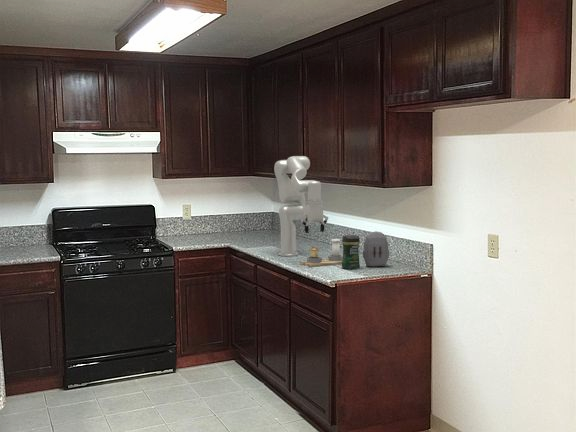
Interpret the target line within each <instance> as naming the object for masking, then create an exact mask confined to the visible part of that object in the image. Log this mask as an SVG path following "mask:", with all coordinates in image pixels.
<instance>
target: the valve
mask: <svg viewBox="0 0 576 432" xmlns="http://www.w3.org/2000/svg"><path fill="white" fill-rule="evenodd" d="M309 253H310V254H309V257H310V258H312V259H316V258H318V257H319V248H318V247H315V246H311V247H309Z"/></svg>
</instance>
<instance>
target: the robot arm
mask: <svg viewBox="0 0 576 432" xmlns="http://www.w3.org/2000/svg"><path fill="white" fill-rule="evenodd" d="M310 166H311V161H310V159H309V157H307V156H305V155H293V156H289V157H288V158H287V159H280V160H277V161H276V162H275V163H274V166H273V167H274V169H273V170H274V175H275V178H276V180H277V186H278V194H279V195H278V196H279V200H280V203H282V204H286V205H281V207H279V210H278V216H279V223H280V252H278V256H281V257H295V256H298V255H299V252H298V251H297V240H296V239H297V234H296V233H297V227H296V224H295V223H294V222H293V221H298V220H300V222H301V223H302V225H303V226H304V232H305V233H306V234H309V231H310V230H309V224H312V223H313V224H314V223H320V225H319V226H320V227H319V230H320V232H321V233H324V232H325V225H326V223H328V221H329V216H326V215H324V210H323V205H322V203H324V201H323V200H322V183H321V181H319V180H318V181H317V180H313V179H312V180H311V179H310V180H309V179H308V180H307V179H305V180H303V179H304V178H305V177H306V176H307V173H308V172H307V170H309V168H310ZM288 174H291V177H289V175H288ZM305 194H307V205H306V198H305Z"/></svg>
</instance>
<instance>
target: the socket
mask: <svg viewBox="0 0 576 432" xmlns="http://www.w3.org/2000/svg"><path fill="white" fill-rule="evenodd" d="M322 259H323V257H321V256H318V258H316V259H312V258H310V256H308V257H306V260H307V262H308V263H321V262H322Z"/></svg>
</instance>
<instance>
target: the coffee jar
mask: <svg viewBox="0 0 576 432" xmlns="http://www.w3.org/2000/svg"><path fill="white" fill-rule="evenodd" d="M360 242H361V241H360V235H356V234H348V235H343V236H342V240H341V244H342V250H343V252H342V256H343V258H342V265H341V267H342V268H343V269H344V270H354V269H355V270H356V269H360V266H361V265H360V254H359V248H360V247H359V246H360Z"/></svg>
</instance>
